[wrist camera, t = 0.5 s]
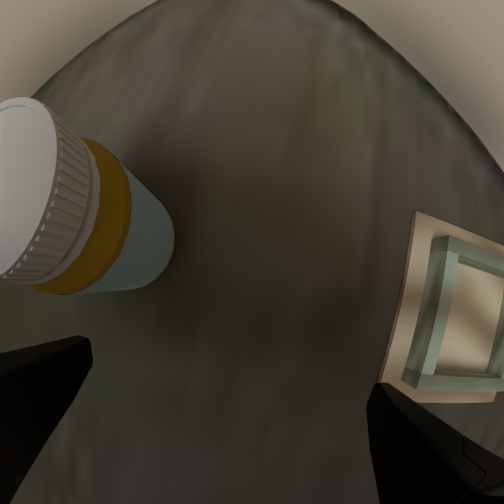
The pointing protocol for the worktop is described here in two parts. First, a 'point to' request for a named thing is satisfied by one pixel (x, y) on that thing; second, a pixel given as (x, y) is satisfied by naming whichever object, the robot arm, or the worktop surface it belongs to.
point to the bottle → (73, 210)
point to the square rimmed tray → (448, 317)
